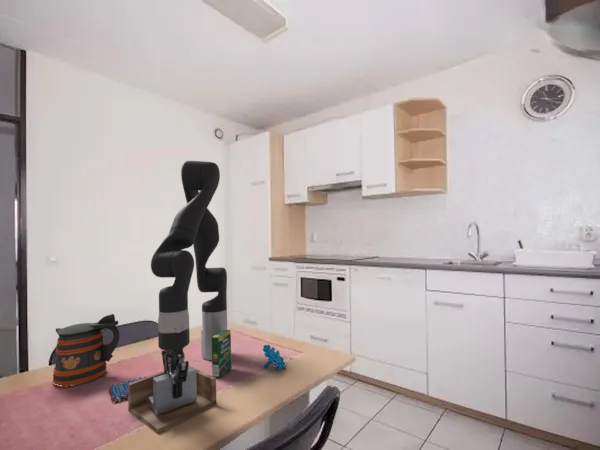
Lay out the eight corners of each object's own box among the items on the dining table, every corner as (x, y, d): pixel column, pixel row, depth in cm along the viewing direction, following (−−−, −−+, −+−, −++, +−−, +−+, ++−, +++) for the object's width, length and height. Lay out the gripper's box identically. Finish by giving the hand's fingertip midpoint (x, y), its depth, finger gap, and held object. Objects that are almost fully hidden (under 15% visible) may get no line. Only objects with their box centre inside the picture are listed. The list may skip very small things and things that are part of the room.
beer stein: (125, 363, 116) (124, 308, 116) (115, 380, 102) (114, 317, 103) (63, 371, 110) (63, 313, 111) (44, 391, 96) (43, 324, 97)
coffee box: (219, 378, 101) (218, 337, 101) (211, 378, 102) (210, 336, 102) (232, 368, 108) (231, 329, 109) (224, 367, 109) (224, 329, 110)
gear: (282, 370, 102) (261, 346, 105) (269, 383, 102) (249, 359, 105) (290, 361, 113) (271, 340, 115) (279, 373, 113) (260, 351, 115)
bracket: (156, 415, 78) (156, 381, 78) (147, 402, 84) (147, 371, 84) (196, 400, 84) (196, 369, 84) (185, 389, 90) (185, 361, 90)
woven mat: (107, 392, 95) (107, 385, 95) (146, 381, 102) (146, 375, 102) (111, 406, 87) (111, 398, 87) (153, 394, 93) (153, 386, 93)
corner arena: (128, 410, 83) (128, 383, 84) (184, 387, 96) (184, 363, 96) (157, 433, 73) (157, 402, 73) (216, 403, 86) (215, 377, 86)
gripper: (150, 325, 86) (151, 390, 85) (168, 336, 75) (169, 411, 74) (178, 319, 90) (180, 381, 90) (198, 329, 80) (200, 399, 79)
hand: (175, 394), depth 82 cm, fingers closed on bracket, 3 cm apart
